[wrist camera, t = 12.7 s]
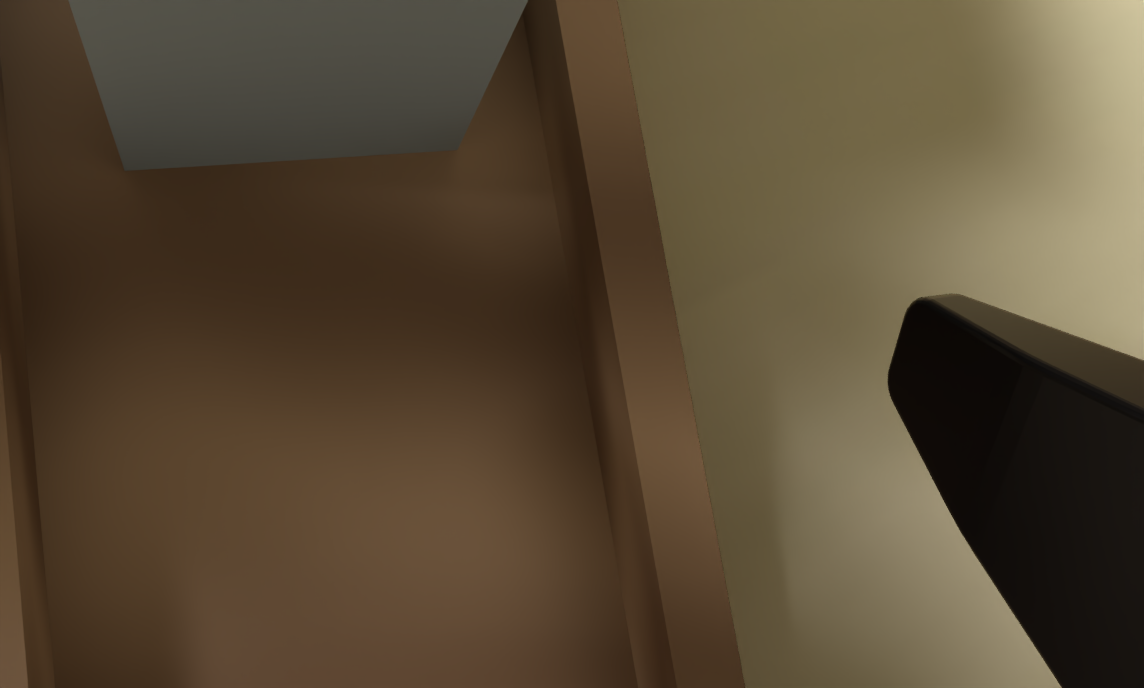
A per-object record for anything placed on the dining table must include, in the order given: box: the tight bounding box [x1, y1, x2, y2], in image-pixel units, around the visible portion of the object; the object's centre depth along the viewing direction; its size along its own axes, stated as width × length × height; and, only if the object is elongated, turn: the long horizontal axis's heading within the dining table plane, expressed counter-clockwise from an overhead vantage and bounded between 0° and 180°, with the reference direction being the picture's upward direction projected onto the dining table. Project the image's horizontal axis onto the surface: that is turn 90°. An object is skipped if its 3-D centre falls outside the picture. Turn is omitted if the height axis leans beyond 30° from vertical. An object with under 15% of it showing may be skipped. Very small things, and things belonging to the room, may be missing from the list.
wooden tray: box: [0, 0, 745, 688], centre depth 16 cm, size 24×10×2 cm, turn 10°
